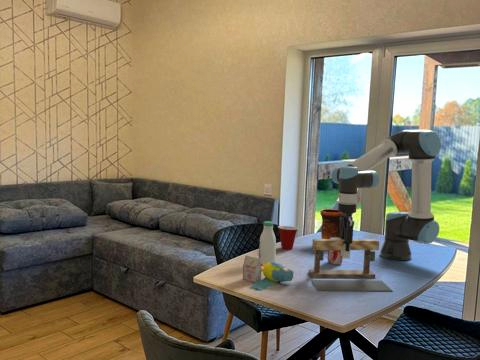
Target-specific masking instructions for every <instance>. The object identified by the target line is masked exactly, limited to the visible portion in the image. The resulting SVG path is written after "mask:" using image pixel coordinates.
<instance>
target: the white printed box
mask: <svg viewBox="0 0 480 360" xmlns="http://www.w3.org/2000/svg"><path fill="white" fill-rule="evenodd" d="M261 266H262V265H261V264H260V260H259V257H255V256H251V255H247V254H246V255H245V257H244V261H243V265H242V280H243V281H247V282H250V283H253V284H255V283H256V282H258V281H260V280H262V272H261Z"/></svg>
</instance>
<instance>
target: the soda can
mask: <svg viewBox="0 0 480 360" xmlns="http://www.w3.org/2000/svg"><path fill="white" fill-rule="evenodd" d="M330 239H341V238H337V237H332V238H330ZM327 262H328V263H329V264H330V265H340V264H342V263H343V256H341V250H327Z"/></svg>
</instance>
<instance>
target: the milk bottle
mask: <svg viewBox="0 0 480 360" xmlns="http://www.w3.org/2000/svg"><path fill="white" fill-rule="evenodd" d="M262 224H263V225H262V226H263V230H262V231H261V234H260V237H259V246H258V258H259V260H260V264H261V266H262V263H264V264H265V265H266V264H267V263H272V262H271V261H275V262H276V252H277V251H276V249H277V247H276V246H277V244H276V243H277V241H276V240H277V238H276V235H275V232H274V230H273V229H274V222H273V221H270V220H269V221H268V220H265V221H263V222H262Z"/></svg>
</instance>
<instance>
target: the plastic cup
mask: <svg viewBox="0 0 480 360" xmlns="http://www.w3.org/2000/svg"><path fill="white" fill-rule="evenodd" d="M277 228H278V232H279V239H280V240H279V241H280V245H281V250H284V251H291V250H293V249H294V244H295V239H296V236H297V232H298V230H299V227H297V226H291V225H290V226H289V225H278V226H277Z"/></svg>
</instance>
